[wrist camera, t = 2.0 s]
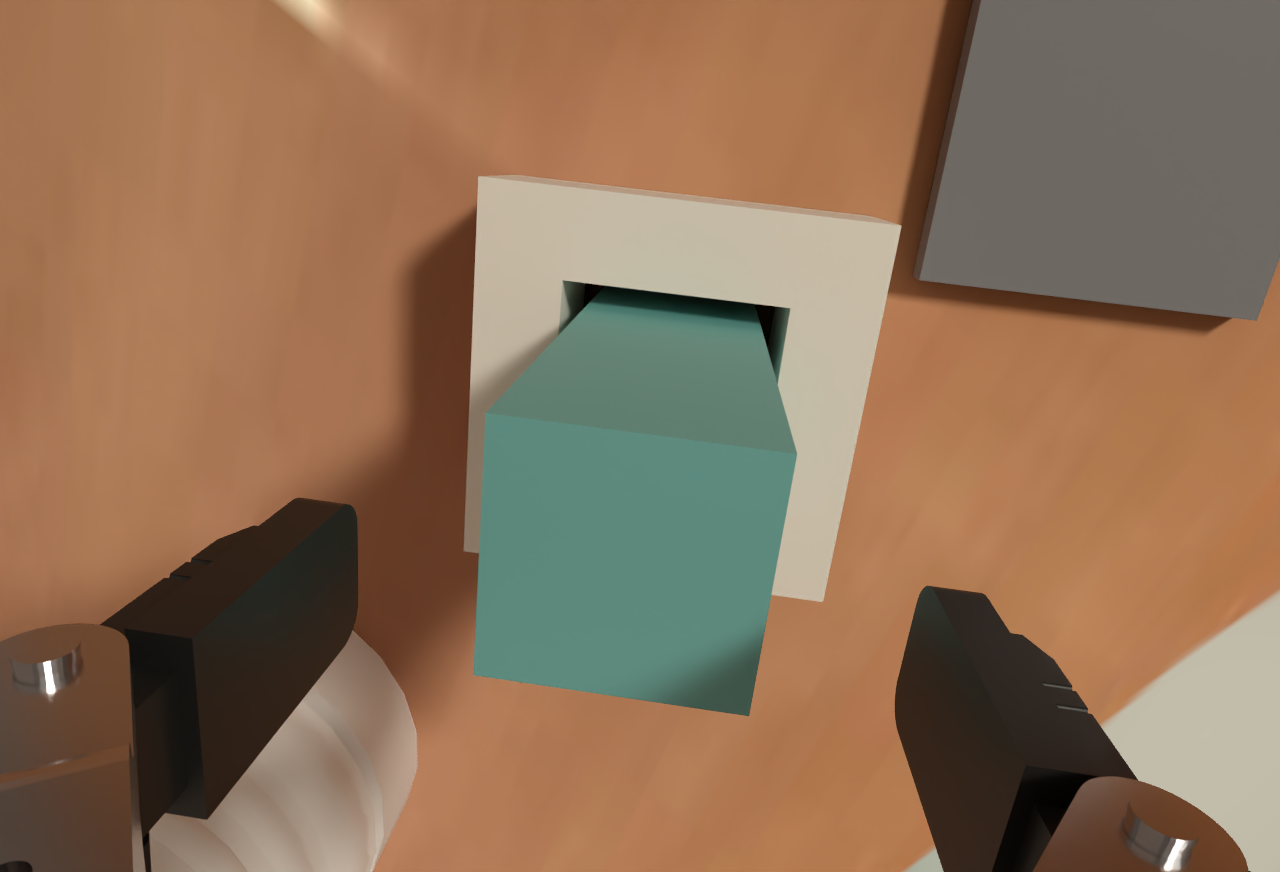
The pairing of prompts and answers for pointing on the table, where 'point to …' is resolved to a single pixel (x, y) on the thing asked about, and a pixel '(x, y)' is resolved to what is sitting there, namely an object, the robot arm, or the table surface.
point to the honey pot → (311, 783)
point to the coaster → (1113, 154)
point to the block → (636, 505)
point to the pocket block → (702, 267)
